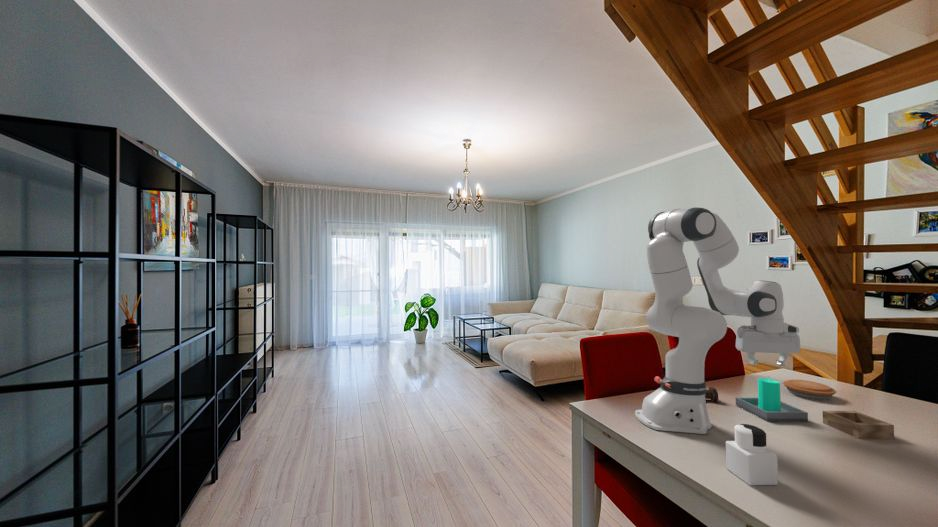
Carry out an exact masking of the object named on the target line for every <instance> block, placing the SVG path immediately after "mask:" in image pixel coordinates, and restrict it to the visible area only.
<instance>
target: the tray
mask: <svg viewBox="0 0 938 527" xmlns="http://www.w3.org/2000/svg"><path fill="white" fill-rule="evenodd" d="M736 405H737V406H736ZM735 406H736V407H738V406H739V407H738V408H740V409H742V408H743V409H742V410H743V411H745V410H746V412H747V411H748V412H747V413H749V412H750V413H749V414H751V413H752V415H753V414H754V415H753V416H755V415H756V416H755V417H757V416H758V418H759V419H762V420H763V421H765V422H793V423H794V422H800V423H801V422H809V412H808V411H805V410H803V409H801V408H798V407H795V406H793V405H791V404H788V403H786V402H783V401H781V412H777V411H765V410H763V409H761V408H759V407H758V397H735Z"/></svg>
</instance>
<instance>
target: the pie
mask: <svg viewBox="0 0 938 527" xmlns="http://www.w3.org/2000/svg"><path fill="white" fill-rule="evenodd" d="M782 384H783V386H784V387H785V388H786V389H787V391H788V392H789V393H790V394H791V393H792V395H793V394H794V395H793V396H796V395H797V396H796V397H799V396H800V397H799V398H802V397H804V399H807V398H808V400H812V399H814V400H813V401H828V400H830V399H831V398H833V395H835V394H837V390H835V389H834V388H833V387H830V386H829V385H827V384H825V383H821V382H816V381H811V380H805V379H789V380H785V381H783V382H782Z"/></svg>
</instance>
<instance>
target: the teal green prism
mask: <svg viewBox="0 0 938 527" xmlns="http://www.w3.org/2000/svg"><path fill="white" fill-rule="evenodd" d="M767 377H768V378H765V377H763V378H758V379H757V398H758V407H759V408H761V409H763V410H765V411H777V412H781V402H782V400H781V382H780V381H779V380H774V379H772V378H770V376H769V375H768V376H767Z"/></svg>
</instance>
